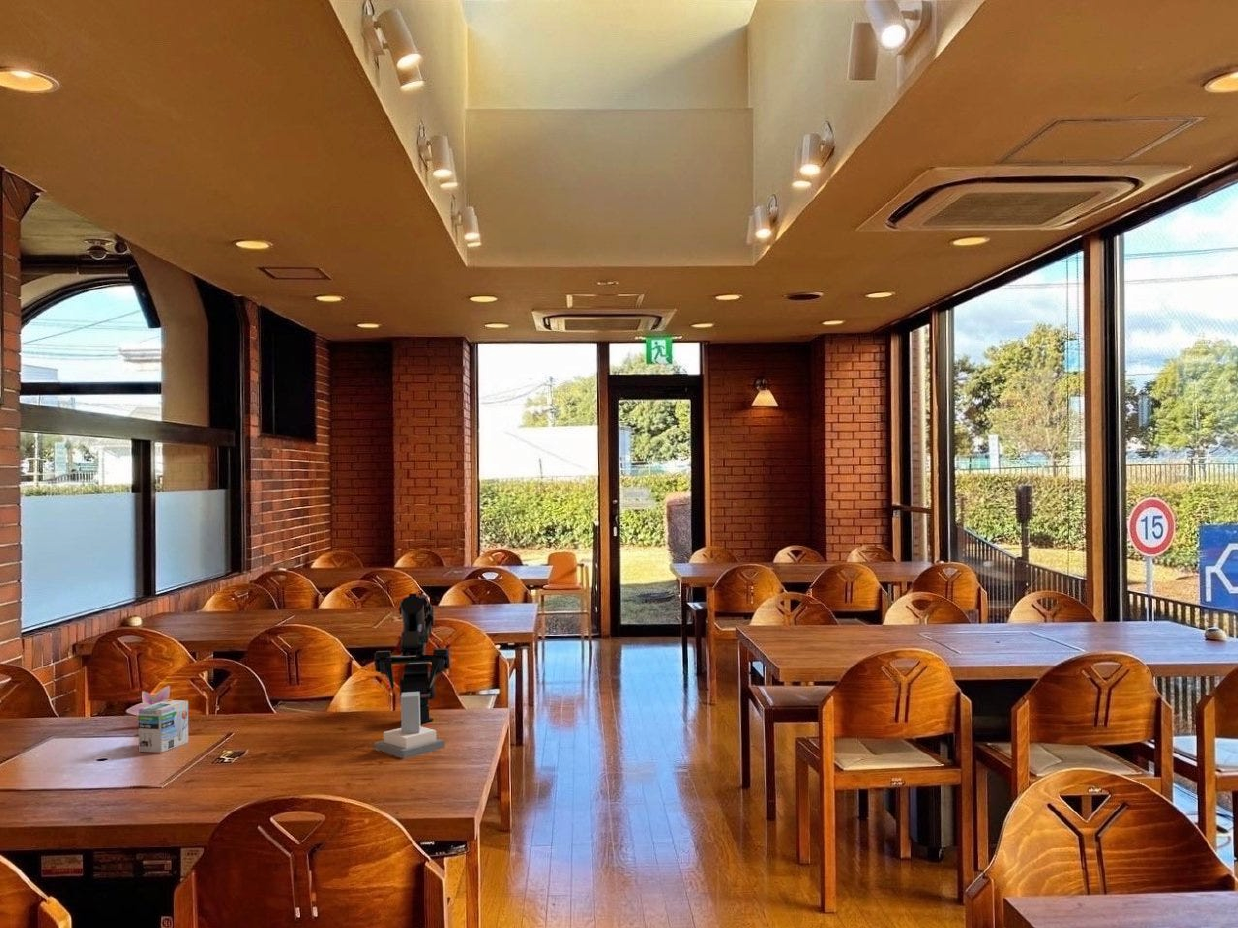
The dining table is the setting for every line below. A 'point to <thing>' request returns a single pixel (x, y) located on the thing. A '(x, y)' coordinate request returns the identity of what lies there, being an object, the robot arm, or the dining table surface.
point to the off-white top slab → (409, 737)
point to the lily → (150, 700)
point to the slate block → (410, 712)
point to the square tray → (409, 751)
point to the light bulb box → (163, 726)
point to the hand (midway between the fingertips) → (410, 688)
